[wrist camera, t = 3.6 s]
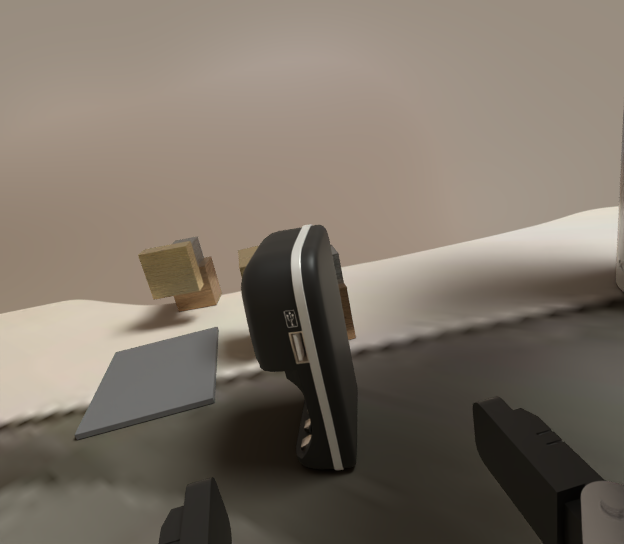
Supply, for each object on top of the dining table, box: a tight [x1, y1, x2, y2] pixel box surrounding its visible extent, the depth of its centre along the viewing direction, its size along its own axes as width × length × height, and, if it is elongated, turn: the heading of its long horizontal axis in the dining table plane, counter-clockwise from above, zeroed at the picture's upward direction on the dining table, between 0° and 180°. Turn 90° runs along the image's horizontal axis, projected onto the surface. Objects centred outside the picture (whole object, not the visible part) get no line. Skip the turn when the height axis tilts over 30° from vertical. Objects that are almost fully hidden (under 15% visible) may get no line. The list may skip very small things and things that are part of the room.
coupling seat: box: [75, 327, 219, 440], centre depth 34 cm, size 9×11×1 cm
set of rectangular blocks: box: [138, 237, 356, 340], centre depth 39 cm, size 8×23×8 cm, turn 50°
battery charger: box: [241, 224, 357, 470], centre depth 23 cm, size 7×4×11 cm, turn 174°
